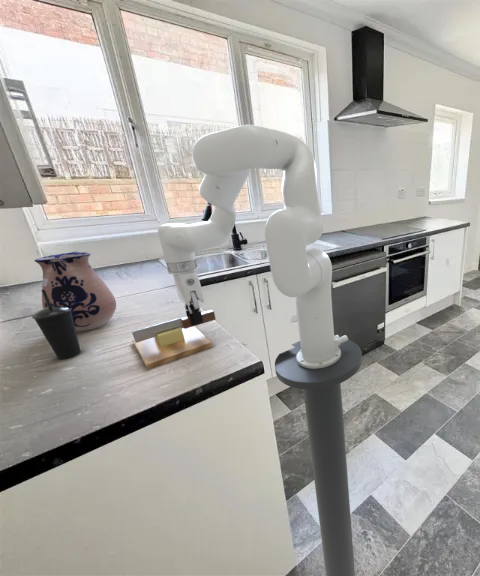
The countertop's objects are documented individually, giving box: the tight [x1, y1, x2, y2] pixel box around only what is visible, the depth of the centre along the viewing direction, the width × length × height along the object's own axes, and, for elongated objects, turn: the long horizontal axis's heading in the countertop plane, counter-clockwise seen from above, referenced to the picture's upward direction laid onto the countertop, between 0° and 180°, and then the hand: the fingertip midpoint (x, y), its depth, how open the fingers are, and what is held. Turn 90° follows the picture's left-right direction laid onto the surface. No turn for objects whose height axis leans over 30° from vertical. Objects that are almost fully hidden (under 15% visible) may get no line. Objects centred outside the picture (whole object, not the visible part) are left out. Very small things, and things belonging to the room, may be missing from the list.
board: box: [132, 326, 213, 370], centre depth 93 cm, size 16×20×2 cm
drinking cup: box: [31, 289, 82, 360], centre depth 86 cm, size 8×8×20 cm
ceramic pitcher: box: [33, 250, 117, 333], centre depth 104 cm, size 18×21×25 cm
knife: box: [131, 309, 216, 343], centre depth 93 cm, size 21×2×4 cm, turn 136°
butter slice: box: [157, 328, 185, 347], centre depth 91 cm, size 6×2×4 cm, turn 136°
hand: (195, 322), depth 97 cm, fingers closed on knife, 2 cm apart
